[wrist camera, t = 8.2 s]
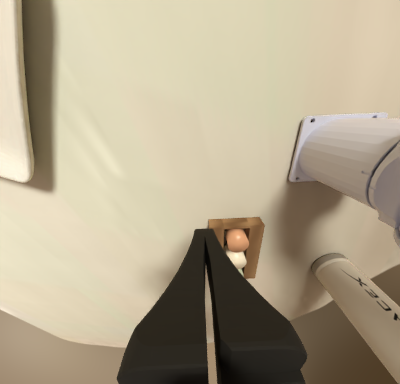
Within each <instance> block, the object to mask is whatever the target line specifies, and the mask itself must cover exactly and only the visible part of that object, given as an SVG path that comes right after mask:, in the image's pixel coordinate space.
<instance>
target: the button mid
mask: <svg viewBox="0 0 400 384" xmlns="http://www.w3.org/2000/svg"><path fill="white" fill-rule="evenodd" d="M224 251H225V252H226V254H227V255H228V257H229V258H230V260H231V261H232V263H233V264H234V265H235V267H236V268H237V269H241V268H243V267H244V266H245V265H246V263H247V262H246V258H245V256H244V253H243V252H239V253H236V252H232V251H231V250H229V248H228V244H226V245H225V246H224Z"/></svg>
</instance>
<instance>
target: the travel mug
mask: <svg viewBox="0 0 400 384" xmlns="http://www.w3.org/2000/svg"><path fill="white" fill-rule="evenodd" d="M312 272H313V273H314V274H315V276H316V277H317V278H318V279H319V281H320V282H321V284H322V285H323V286H324V287H325V289H326V290H327V291H328V293H329V294H330V295H331V297H332V298H333V299H334V301H335V302H336V303H337V304H338V306H339V307H340V308H341V310H342V311H343V312H344V313H345V315H346V316H347V318H348V319H349V320H350V321H351V323H352V324H353V325H354V327H355V328H356V329H357V330H358V332H359V333H360V335H361V336H362V337H363V338H364V340H365V341H366V342H367V344H368V345H369V346H370V348H371V349H372V350H373V351H374V353H375V354H376V355H377V357H378V358H379V359H380V361H381V362H382V363H383V364H384V366H385V367H386V368H387V370H388V371H389V372H390V374H391V375H392V376H393V377H394V379H395V380H396V382H397V383H398V384H400V307H399V306H398V305H397V304H396V303H395V302H394V301H393V300H391V299H390V298H389V297H388V296H387V295H386V294H385V293H384V292H382V290H381V289H380V288H378V287H377V286H376V285H375V284H374V283H373V282H372V281H371V280H370V279H369V278H368V277H366V276H365V275H364V274H363V273H362V272H361V271H360V270H359V269H358V268H357V267H356V266H354V265H353V264H352V263H351V262H350V261H349V260H348V259H347V258H346V257H345V256H343V255H341V254H336V253H335V254H328V255H325V256H322V257H320V258H319V259H318V260H316V261H315V262H314V264H313V266H312Z"/></svg>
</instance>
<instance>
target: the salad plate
mask: <svg viewBox="0 0 400 384" xmlns="http://www.w3.org/2000/svg"><path fill="white" fill-rule="evenodd" d="M33 173H34V156H33V148H32V140H31V132H30V124H29V115H28V104H27V92H26V80H25V68H24V52H23V29H22V0H0V177H3V178H6V179H10V180H13V181H17V182H22V183H26V182H29V181H30V180H31V178H32V176H33Z"/></svg>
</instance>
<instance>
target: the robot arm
mask: <svg viewBox="0 0 400 384" xmlns="http://www.w3.org/2000/svg"><path fill="white" fill-rule="evenodd" d="M387 116H388V114H387V113H385V112H384V113H363V114H341V115H320V116H306V117H304V118H303V120H302V124H301V128H300V132H299V136H298V140H297V145H296V149H295V153H294V157H293V162H292V166H291V170H290V174H289V181H291V182H305V181H319V182H321V183H323V184H325V185H327V186H329V187H331V188H333V189H335V190H337V191H339V192H341V193H343V194H345V195H347V196H349V197H351V198H353V199H355V200H357V201H359V202H361V203H363V204H365V205H367V206H369V207H371V208H373V209H375V210H377V211H378V213H379V217H378V219H379V220H380V221H382V222H384V223H386V224H388V225H390V226H391V227H393V228H395V229H394V234H393V236H394V239H395V242H396V243H397V245H398V246H399V247H400V118H387ZM372 117H373V118H372ZM311 119H313V121H312V122H310V121H311ZM296 177H298V178H297V179H296ZM206 268H207V274H208V281H209V287H210V294H211V302H212V315H213V329H214V342H215V356H216V370H217V383H218V384H305V380H304V378H303V375H302V373H301V371H300V369H301V367H302V366H303V364H304V363H305V362H306V359H307V353H306V350H305V348H304V346H303V344H302V342H301V340H300V338H299V337H298V335H297V333H296V331H295V330H294V328H293V326H292V325H291V323H290V322H289V321H288V320H287V319H286V318H285V317H284V316H283V315H282V314H280V313H279V312H278V311H277V310H276V309H275V308H274V307H273V306H272V305H270V304H269V303H268V302H267V301H266V300H265V299H264V298H263V297H262V296H261V295H260V294H259V293H258V292H257V291H256V290H255V289H254V287H253V286H252V285H251V284H250V283H249V282H248V281H247V280H246V279H245V278H244V276H243V275H242V274H241V273H240V272H239V270H238V269H237V268H236V267H235V265H234V264H233V263H232V261H231V260H230V258H229V257H228V255H227V254H226V252H225V251H224V249H223V247H222V246H221V244H220V242H219V240H218V238H217V236H216V234H215V232H214V229H212V228H210V229H196V230H195V231H194V236H193V239H192V242H191V245H190V247H189V250H188V252H187V254H186V256H185V258H184V260H183V262H182V264H181V266H180V268H179V270H178V272H177V273H176V275H175V277H174V278H173V280H172V281H171V283H170V284H169V286H168V287H167V289H166V290H165V292H164V293H163V294H162V296H161V297H160V298H159V300H158V301H157V302H156V304H155V305H154V306H153V307H152V309H151V310H150V311H149V312H148V313H147V315H146V316H145V317H144V318H143V319H142V321H141V322H140V323H139V324H138V325H137V326H136V328H135V329H134V331H133V334H132V336H131V338H130V340H129V343H128V345H127V348H126V350H125V353H124V356H123V360H122V362H121V367H120V369H119V372H118V376H117V381H118V383H119V384H209V383H208V361H207V339H206V318H205V269H206Z"/></svg>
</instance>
